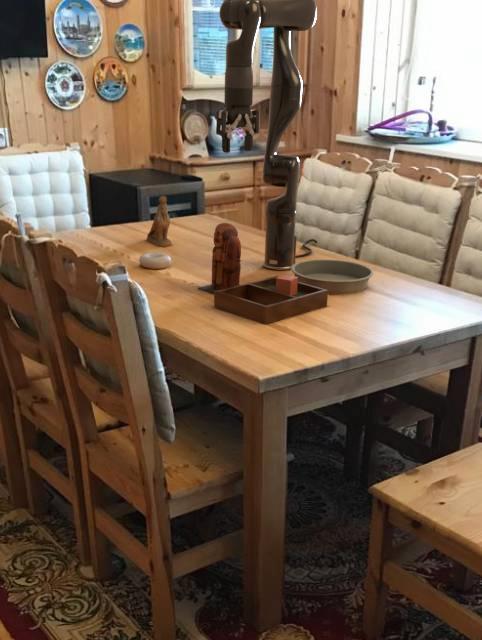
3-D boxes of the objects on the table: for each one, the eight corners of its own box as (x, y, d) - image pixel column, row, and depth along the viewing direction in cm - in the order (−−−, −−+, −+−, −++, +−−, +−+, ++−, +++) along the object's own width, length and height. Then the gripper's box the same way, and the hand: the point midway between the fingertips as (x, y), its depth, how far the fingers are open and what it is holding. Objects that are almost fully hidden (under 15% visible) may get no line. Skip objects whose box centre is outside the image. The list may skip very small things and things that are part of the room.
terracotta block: (282, 290, 228) (283, 274, 226) (297, 293, 226) (298, 277, 224) (275, 294, 224) (276, 277, 222) (289, 297, 222) (290, 280, 220)
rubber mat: (225, 282, 242) (225, 281, 242) (251, 290, 236) (251, 289, 236) (197, 289, 235) (197, 287, 235) (224, 297, 229) (224, 295, 228)
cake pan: (273, 282, 244) (273, 267, 242) (325, 269, 260) (326, 255, 258) (337, 301, 230) (339, 285, 228) (388, 286, 246) (390, 271, 244)
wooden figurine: (205, 284, 238) (205, 220, 229) (224, 282, 241) (225, 219, 232) (225, 294, 229) (226, 228, 220) (244, 292, 232) (246, 227, 223)
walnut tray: (276, 291, 236) (276, 275, 234) (327, 306, 225) (328, 289, 223) (213, 307, 220) (214, 290, 218) (265, 324, 209) (266, 307, 207)
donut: (135, 268, 252) (166, 271, 251) (134, 257, 251) (165, 259, 249) (145, 261, 261) (175, 263, 259) (144, 250, 259) (175, 252, 257)
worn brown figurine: (171, 252, 282) (175, 201, 270) (156, 253, 280) (160, 201, 268) (159, 238, 290) (163, 187, 278) (145, 238, 287) (148, 187, 276)
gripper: (229, 87, 210) (228, 154, 218) (267, 86, 219) (264, 151, 227) (209, 85, 214) (209, 151, 222) (247, 84, 224) (245, 148, 232)
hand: (237, 151), depth 225 cm, fingers open, 8 cm apart
